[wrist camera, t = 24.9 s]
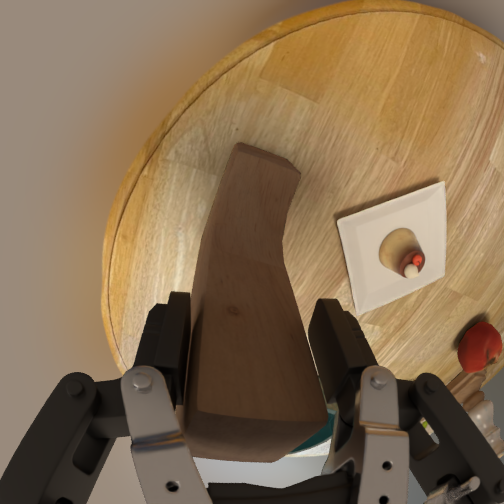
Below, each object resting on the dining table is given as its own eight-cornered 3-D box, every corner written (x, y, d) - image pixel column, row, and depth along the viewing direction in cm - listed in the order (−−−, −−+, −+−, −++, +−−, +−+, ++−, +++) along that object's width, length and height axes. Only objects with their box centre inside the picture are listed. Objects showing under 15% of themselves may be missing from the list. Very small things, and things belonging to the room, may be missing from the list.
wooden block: (235, 139, 20) (255, 280, 4) (290, 160, 21) (433, 323, 5) (200, 240, 24) (170, 455, 8) (249, 255, 25) (277, 464, 9)
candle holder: (436, 394, 46) (472, 476, 25) (471, 362, 42) (516, 444, 21) (453, 395, 49) (486, 465, 29) (484, 366, 45) (523, 437, 24)
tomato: (475, 344, 38) (494, 372, 31) (442, 357, 38) (462, 390, 31) (494, 307, 34) (518, 337, 27) (462, 320, 33) (487, 354, 27)
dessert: (438, 177, 22) (469, 193, 18) (439, 271, 28) (461, 295, 24) (332, 215, 24) (352, 240, 19) (353, 310, 29) (368, 340, 25)
